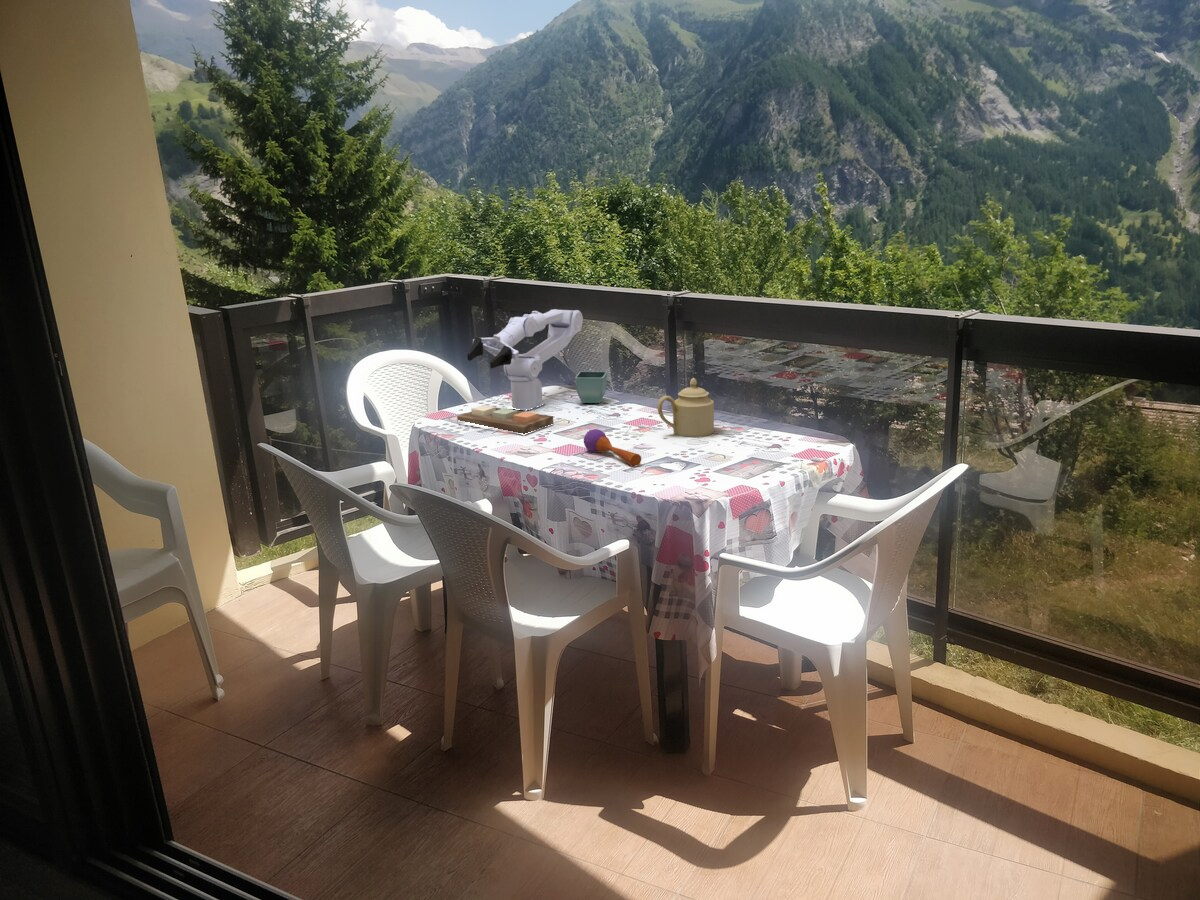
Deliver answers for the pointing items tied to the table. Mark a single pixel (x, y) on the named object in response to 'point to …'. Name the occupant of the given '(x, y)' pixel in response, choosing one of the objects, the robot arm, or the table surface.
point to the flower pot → (591, 386)
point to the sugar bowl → (690, 412)
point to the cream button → (483, 410)
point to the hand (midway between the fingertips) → (479, 361)
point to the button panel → (507, 422)
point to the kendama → (608, 447)
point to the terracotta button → (526, 417)
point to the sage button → (504, 413)
